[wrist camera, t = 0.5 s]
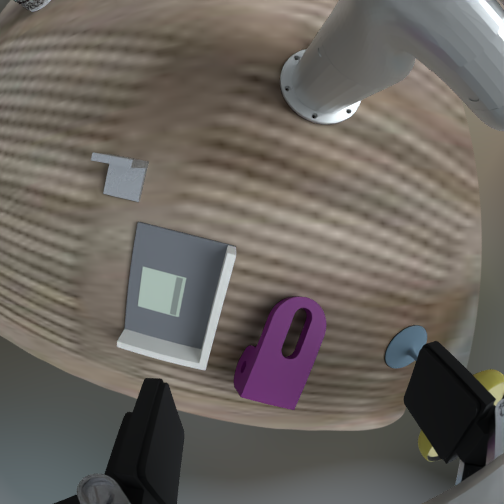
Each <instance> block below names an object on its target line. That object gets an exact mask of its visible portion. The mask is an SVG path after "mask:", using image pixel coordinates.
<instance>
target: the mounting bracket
mask: <svg viewBox="0 0 504 504" xmlns="http://www.w3.org/2000/svg"><path fill="white" fill-rule="evenodd" d="M300 308H303V309H304V310H305V312H306V314H307V318H306V321H305V324H304V327H303V329H302V332H301V335H300V337H299V340H298V343H297V345H296V348H295V350H294V352H293V353H292V354H291V355H290V356H287V357H284V356H283V355H282V352H281V349H282V346H283V343H284V340H285V338H286V335H287V333H288V330H289V327H290V325H291V322H292V319H293V317H294V314H295V312H296V311H297V310H298V309H300ZM325 331H326V318H325V314H324V312H323V310H322V308H321V307H320V306H319V304H317V303H316V302H315V301H314V300H312V299H309V298H306V297H289V298H286V299H283V300H282V301H280V302H279V303H277V304H276V305H275V306H274V307H273V309H272V310H271V312H270V314H269V316H268V319H267V321H266V324H265V327H264V329H263V332H262V334H261V337H260V339H259V342H258V344H257V346H256V347H255V346H252V345H249V346H248V347H247V348H246V349H245V351H244V352H243V354H242V356H241V358H240V359H239V362H238V364H237V367H236V371H235V375H234V387H235V388H236V390H237V392H238V393H239V395H240V397H242V398H246V399H250V400H254V401H257V402H261V403H265V404H270V405H274V406H278V407H283V408H287V409H292V410H294V409H295V407H296V404H297V402H298V400H299V398H300V395H301V393H302V391H303V388H304V386H305V384H306V381H307V379H308V376H309V374H310V371H311V369H312V366H313V364H314V361H315V359H316V356H317V354H318V351H319V348H320V346H321V343H322V340H323V338H324V335H325Z"/></svg>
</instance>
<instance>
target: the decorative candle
mask: <svg viewBox="0 0 504 504" xmlns="http://www.w3.org/2000/svg"><path fill="white" fill-rule="evenodd" d="M14 1H15V2H17V3H19V4H21V5H22V6H23V7H24V8H26V9H27V10H30V11H32V12H34V11H38V10H40V9H42V8H43V7H44V6H46V5H47V4H48V3H49V2H50V1H51V0H14Z"/></svg>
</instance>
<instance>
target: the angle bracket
mask: <svg viewBox="0 0 504 504" xmlns="http://www.w3.org/2000/svg"><path fill="white" fill-rule="evenodd" d="M91 160H92V161H98V162H103V163H109V168H108V172H107V177H106V182H105V187H104V193H103V194H107V195H111V196H115V197H120V198H124V199H128V200H132V201H137V202H139V201H140V199H141V194H142V189H143V185H144V180H145V176H146V172H147V168H148V164H149V161H144V160H139V159H134V158H129V157H124V156H118V155H112V154H102V153H92V158H91Z"/></svg>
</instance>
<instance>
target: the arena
mask: <svg viewBox="0 0 504 504" xmlns="http://www.w3.org/2000/svg"><path fill="white" fill-rule="evenodd" d="M235 258H236V246H233V245H229V244H225V243H221V242H218V241H214V240H210V239H206V238H202V237H198V236H194V235H190V234H186V233H182V232H178V231H174V230H170V229H166V228H162V227H158V226H154V225H150V224H146V223H142V222H138V224H137V230H136V236H135V242H134V248H133V255H132V262H131V270H130V278H129V286H128V296H127V306H126V318H125V329H124V331H123V332H122V334H121V336H120V337H119V339H118V341H117V347H120V348H123V349H126V350H129V351H132V352H135V353H139V354H142V355H146V356H149V357H153V358H156V359H160V360H164V361H167V362H171V363H175V364H179V365H183V366H188V367H192V368H196V369H201V370H206V366H207V362H208V359H209V355H210V351H211V347H212V343H213V339H214V336H215V332H216V328H217V324H218V321H219V317H220V313H221V309H222V306H223V302H224V298H225V294H226V291H227V287H228V283H229V280H230V276H231V272H232V269H233V265H234V262H235Z"/></svg>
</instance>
